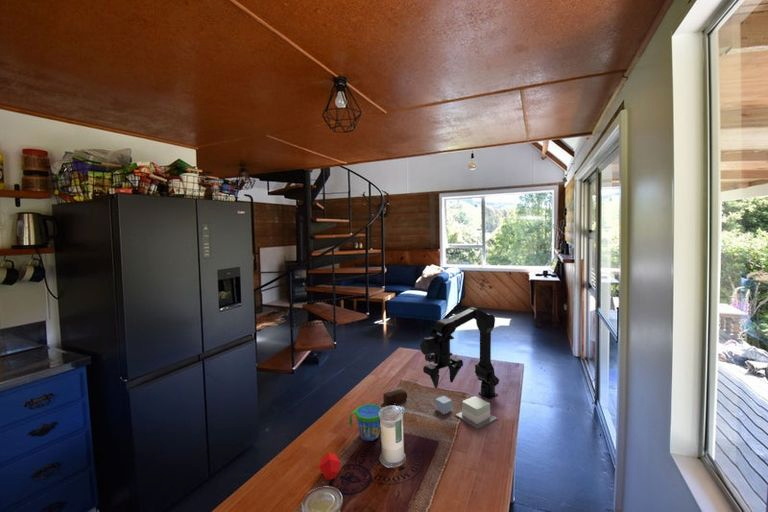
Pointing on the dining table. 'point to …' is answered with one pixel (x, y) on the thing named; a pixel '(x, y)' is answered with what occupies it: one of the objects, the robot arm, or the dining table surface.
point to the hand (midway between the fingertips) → (443, 385)
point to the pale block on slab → (476, 412)
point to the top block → (443, 404)
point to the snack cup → (367, 421)
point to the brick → (394, 397)
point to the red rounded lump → (329, 466)
